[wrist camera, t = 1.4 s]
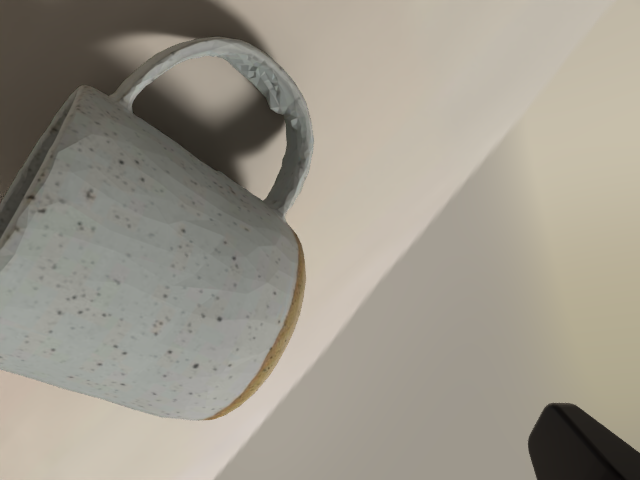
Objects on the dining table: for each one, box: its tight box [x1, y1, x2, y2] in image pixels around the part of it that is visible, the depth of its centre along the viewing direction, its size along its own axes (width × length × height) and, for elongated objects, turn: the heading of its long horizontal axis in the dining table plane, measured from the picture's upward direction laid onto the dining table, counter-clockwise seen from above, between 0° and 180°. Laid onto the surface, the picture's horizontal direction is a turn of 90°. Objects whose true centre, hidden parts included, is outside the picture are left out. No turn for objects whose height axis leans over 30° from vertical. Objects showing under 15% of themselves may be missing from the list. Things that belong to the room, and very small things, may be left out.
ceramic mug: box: [0, 36, 314, 420], centre depth 17 cm, size 11×8×8 cm
